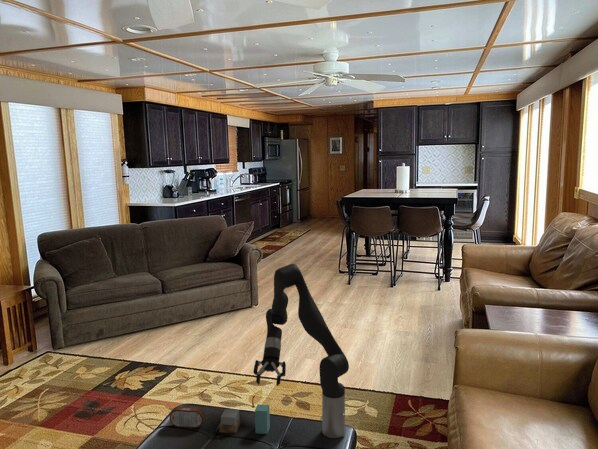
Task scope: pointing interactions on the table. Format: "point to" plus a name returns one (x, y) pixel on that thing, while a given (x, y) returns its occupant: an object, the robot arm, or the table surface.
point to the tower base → (230, 427)
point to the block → (262, 419)
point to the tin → (187, 417)
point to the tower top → (230, 417)
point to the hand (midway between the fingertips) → (267, 384)
